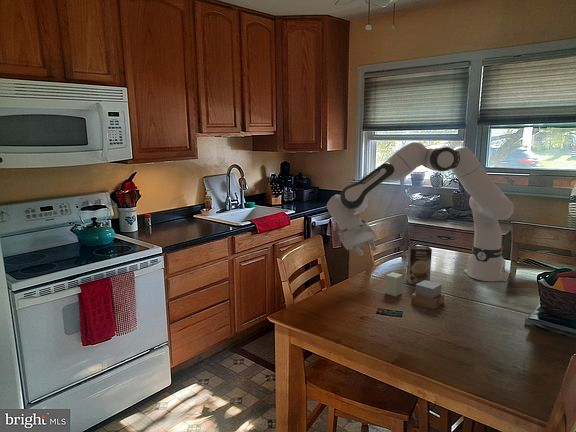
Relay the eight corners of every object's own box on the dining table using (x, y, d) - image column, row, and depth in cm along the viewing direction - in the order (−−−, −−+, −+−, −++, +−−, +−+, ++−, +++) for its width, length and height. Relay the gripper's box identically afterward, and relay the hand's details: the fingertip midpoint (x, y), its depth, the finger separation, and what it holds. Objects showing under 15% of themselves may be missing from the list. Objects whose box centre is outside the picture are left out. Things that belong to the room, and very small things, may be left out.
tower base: (422, 297, 166) (422, 288, 165) (443, 303, 160) (444, 294, 159) (411, 304, 160) (411, 294, 159) (433, 310, 154) (433, 300, 153)
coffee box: (408, 284, 180) (410, 249, 177) (406, 279, 186) (407, 245, 183) (430, 284, 179) (432, 249, 176) (426, 279, 185) (428, 245, 182)
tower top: (424, 289, 164) (424, 279, 163) (440, 294, 159) (441, 284, 158) (415, 294, 159) (415, 284, 159) (432, 299, 154) (432, 289, 154)
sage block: (391, 290, 174) (392, 272, 172) (402, 293, 170) (402, 274, 169) (385, 293, 170) (385, 275, 169) (395, 296, 167) (396, 277, 165)
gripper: (340, 226, 172) (359, 253, 167) (368, 219, 186) (386, 244, 181) (332, 235, 176) (350, 261, 171) (360, 227, 190) (377, 251, 185)
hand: (369, 252), depth 176 cm, fingers open, 8 cm apart
